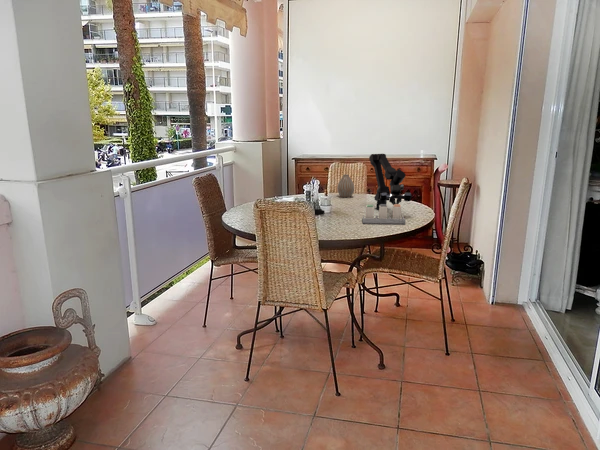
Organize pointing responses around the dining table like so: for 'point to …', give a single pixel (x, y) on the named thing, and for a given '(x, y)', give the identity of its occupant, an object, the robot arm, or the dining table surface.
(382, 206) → the key
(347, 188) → the vase
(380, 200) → the robot arm
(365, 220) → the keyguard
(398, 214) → the key
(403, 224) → the key mat
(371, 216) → the key
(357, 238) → the dining table surface
